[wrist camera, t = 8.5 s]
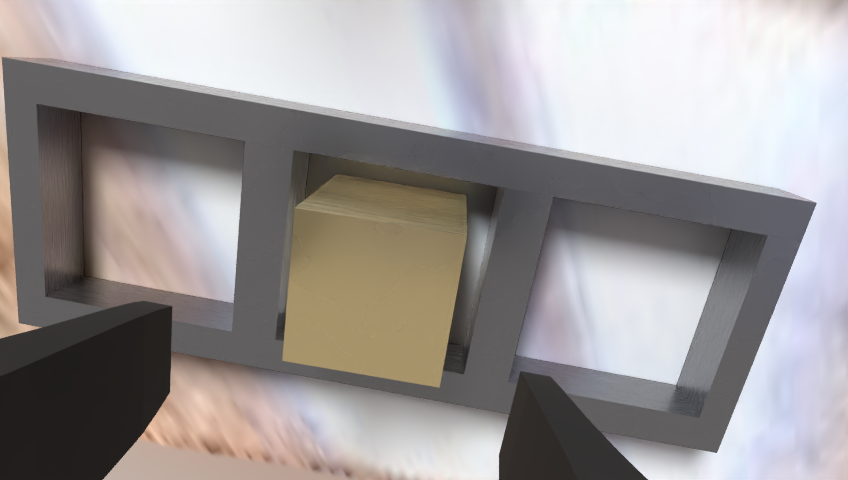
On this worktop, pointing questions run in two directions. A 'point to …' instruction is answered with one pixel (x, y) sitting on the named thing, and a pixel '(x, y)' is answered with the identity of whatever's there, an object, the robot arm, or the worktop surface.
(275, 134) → the grey compartment tray
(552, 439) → the robot arm
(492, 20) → the worktop surface
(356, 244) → the tan rectangular block
